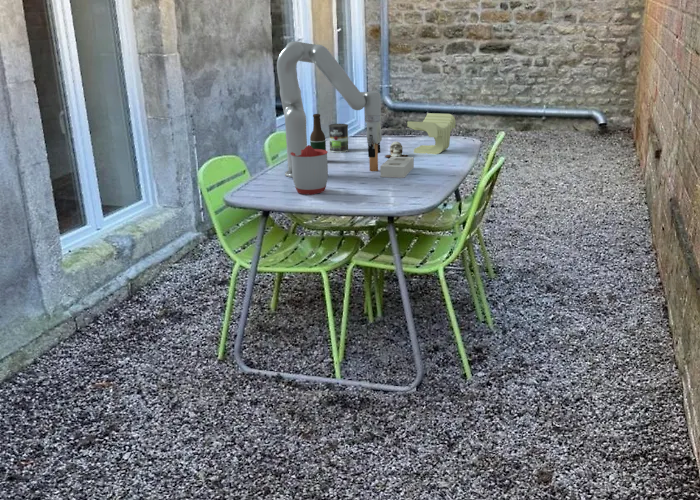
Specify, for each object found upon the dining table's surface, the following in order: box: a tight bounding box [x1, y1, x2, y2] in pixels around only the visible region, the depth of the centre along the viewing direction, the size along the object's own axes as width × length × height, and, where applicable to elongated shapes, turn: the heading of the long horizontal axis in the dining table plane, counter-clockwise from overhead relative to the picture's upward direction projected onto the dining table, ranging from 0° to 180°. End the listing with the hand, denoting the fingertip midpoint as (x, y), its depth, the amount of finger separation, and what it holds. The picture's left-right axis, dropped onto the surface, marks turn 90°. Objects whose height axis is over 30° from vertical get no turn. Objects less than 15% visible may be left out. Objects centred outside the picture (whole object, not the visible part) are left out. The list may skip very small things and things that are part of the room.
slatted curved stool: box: [407, 112, 456, 155], centre depth 380 cm, size 30×16×18 cm, turn 154°
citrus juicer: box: [291, 144, 329, 196], centre depth 305 cm, size 16×17×20 cm
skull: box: [384, 141, 409, 158], centre depth 373 cm, size 12×10×10 cm
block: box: [379, 156, 415, 179], centre depth 337 cm, size 22×11×5 cm, turn 164°
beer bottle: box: [309, 113, 327, 151], centre depth 363 cm, size 8×8×24 cm
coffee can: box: [328, 123, 349, 154], centre depth 390 cm, size 10×10×14 cm
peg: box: [368, 143, 379, 172], centre depth 341 cm, size 4×4×14 cm
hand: (374, 155), depth 341 cm, fingers open, 9 cm apart
